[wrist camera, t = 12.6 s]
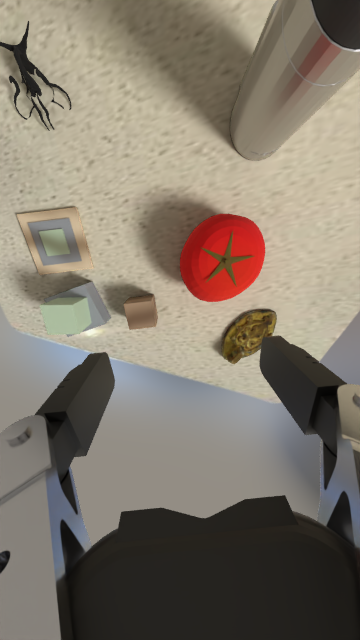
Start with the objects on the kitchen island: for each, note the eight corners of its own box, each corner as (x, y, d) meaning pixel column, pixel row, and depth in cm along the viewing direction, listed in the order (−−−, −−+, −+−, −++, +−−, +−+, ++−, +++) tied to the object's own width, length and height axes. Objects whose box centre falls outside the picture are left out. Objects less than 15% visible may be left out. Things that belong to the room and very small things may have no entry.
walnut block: (129, 297, 37) (123, 304, 32) (154, 294, 37) (151, 300, 32) (134, 320, 39) (129, 329, 34) (157, 317, 39) (155, 326, 34)
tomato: (222, 201, 31) (245, 177, 22) (262, 258, 35) (297, 260, 25) (163, 259, 34) (160, 262, 25) (206, 306, 38) (218, 325, 28)
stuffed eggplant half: (255, 296, 39) (209, 345, 43) (264, 299, 35) (212, 354, 38) (285, 321, 40) (238, 367, 44) (297, 328, 36) (244, 379, 39)
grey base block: (57, 294, 36) (43, 299, 32) (93, 281, 36) (83, 284, 32) (77, 328, 39) (67, 336, 35) (111, 317, 38) (105, 324, 35)
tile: (19, 215, 31) (13, 213, 30) (77, 208, 31) (73, 206, 30) (41, 274, 34) (37, 275, 33) (93, 268, 34) (91, 268, 33)
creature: (81, 128, 28) (53, 44, 24) (66, 114, 24) (28, 7, 19) (33, 139, 28) (-4, 57, 24) (9, 127, 24) (-42, 23, 20)
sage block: (58, 297, 32) (39, 305, 28) (86, 297, 33) (72, 304, 28) (64, 323, 34) (47, 334, 30) (91, 322, 34) (79, 334, 30)
